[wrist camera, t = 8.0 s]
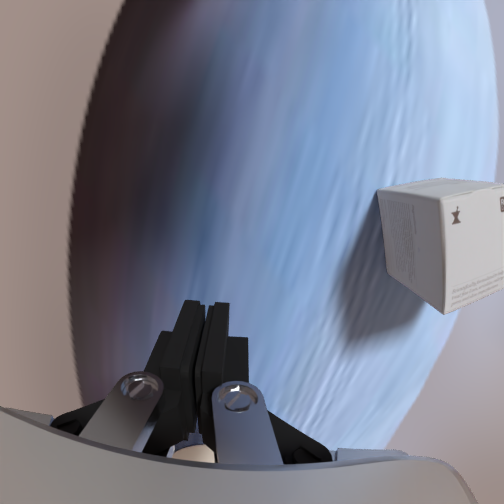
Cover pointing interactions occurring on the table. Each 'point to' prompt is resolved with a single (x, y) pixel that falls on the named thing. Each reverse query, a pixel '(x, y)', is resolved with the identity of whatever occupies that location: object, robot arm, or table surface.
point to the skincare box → (445, 239)
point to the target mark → (195, 453)
